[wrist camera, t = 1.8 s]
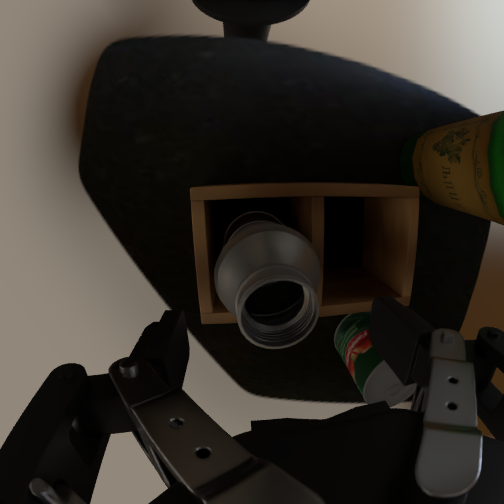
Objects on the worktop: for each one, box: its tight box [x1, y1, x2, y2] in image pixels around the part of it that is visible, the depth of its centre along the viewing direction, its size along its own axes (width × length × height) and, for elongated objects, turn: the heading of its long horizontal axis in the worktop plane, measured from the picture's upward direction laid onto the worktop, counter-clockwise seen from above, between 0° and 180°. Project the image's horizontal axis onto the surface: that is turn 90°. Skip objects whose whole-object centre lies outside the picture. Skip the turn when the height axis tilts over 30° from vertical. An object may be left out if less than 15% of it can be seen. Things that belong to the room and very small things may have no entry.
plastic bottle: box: [214, 206, 320, 349], centre depth 22 cm, size 6×7×20 cm
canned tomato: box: [334, 311, 417, 407], centre depth 31 cm, size 8×8×11 cm
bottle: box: [399, 111, 504, 225], centre depth 17 cm, size 11×11×28 cm
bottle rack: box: [190, 182, 419, 324], centre depth 27 cm, size 11×19×10 cm, turn 92°
